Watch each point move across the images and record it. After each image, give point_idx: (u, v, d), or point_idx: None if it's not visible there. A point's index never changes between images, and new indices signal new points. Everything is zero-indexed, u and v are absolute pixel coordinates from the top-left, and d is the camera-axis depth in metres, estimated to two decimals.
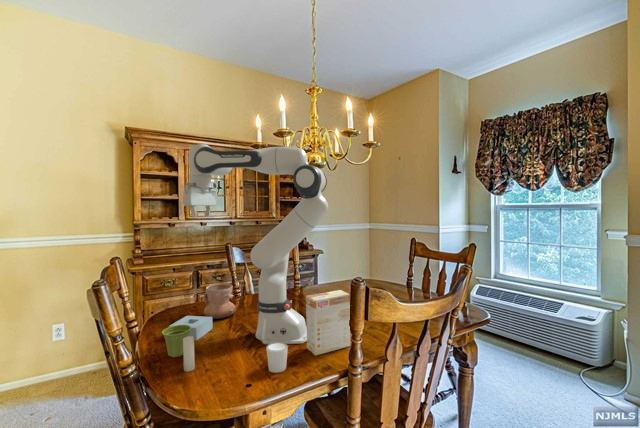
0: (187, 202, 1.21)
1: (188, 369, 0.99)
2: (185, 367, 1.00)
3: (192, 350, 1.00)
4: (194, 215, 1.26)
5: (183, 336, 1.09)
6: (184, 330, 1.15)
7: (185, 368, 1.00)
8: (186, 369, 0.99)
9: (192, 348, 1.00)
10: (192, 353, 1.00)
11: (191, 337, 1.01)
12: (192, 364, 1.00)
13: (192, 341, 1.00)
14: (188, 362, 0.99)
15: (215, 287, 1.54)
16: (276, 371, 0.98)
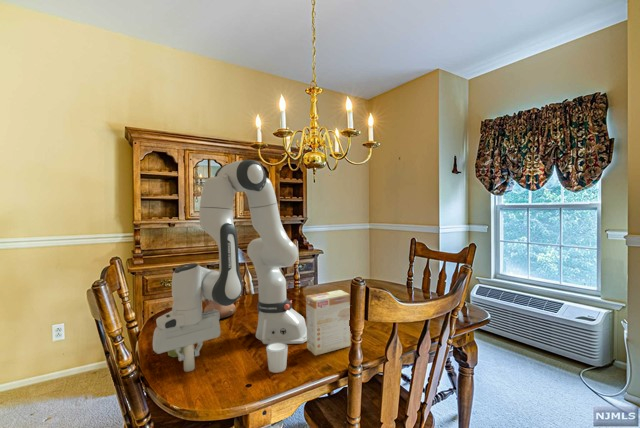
0: None
1: (188, 369, 0.99)
2: (185, 367, 1.00)
3: (192, 350, 1.00)
4: None
5: None
6: None
7: (185, 368, 1.00)
8: (186, 369, 0.99)
9: (192, 348, 1.00)
10: (192, 353, 1.00)
11: None
12: (192, 364, 1.00)
13: None
14: (188, 362, 0.99)
15: None
16: (276, 371, 0.98)
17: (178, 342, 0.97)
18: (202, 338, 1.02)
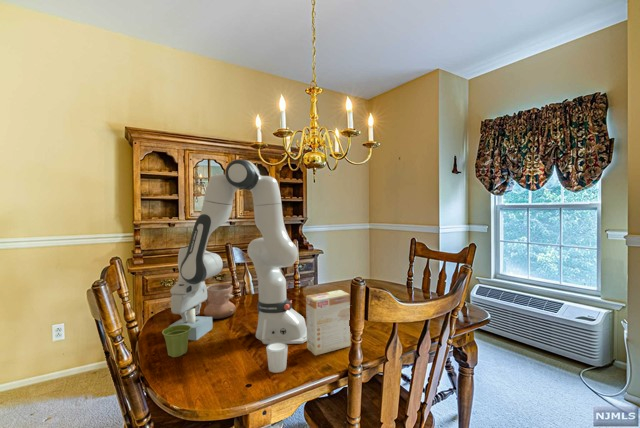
0: None
1: None
2: None
3: None
4: None
5: (183, 336, 1.09)
6: (184, 330, 1.15)
7: None
8: None
9: None
10: None
11: (192, 308, 1.30)
12: None
13: None
14: None
15: (215, 287, 1.54)
16: (276, 371, 0.98)
17: (189, 304, 1.25)
18: (199, 301, 1.32)
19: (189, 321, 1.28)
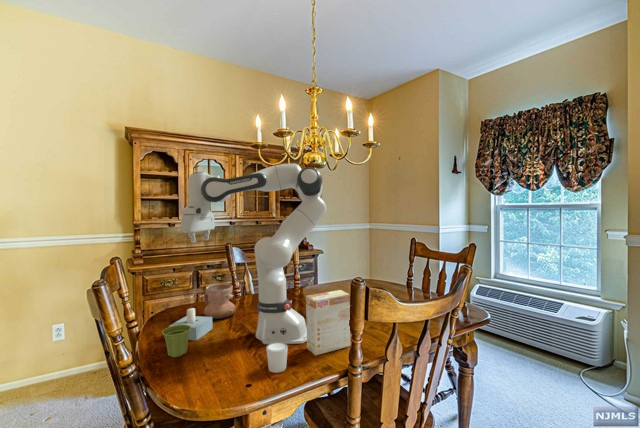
0: None
1: None
2: None
3: None
4: None
5: (183, 336, 1.09)
6: (184, 330, 1.15)
7: None
8: None
9: None
10: None
11: (192, 308, 1.30)
12: None
13: None
14: None
15: (215, 287, 1.54)
16: (276, 371, 0.98)
17: (198, 226, 1.32)
18: (208, 227, 1.40)
19: (189, 321, 1.28)
